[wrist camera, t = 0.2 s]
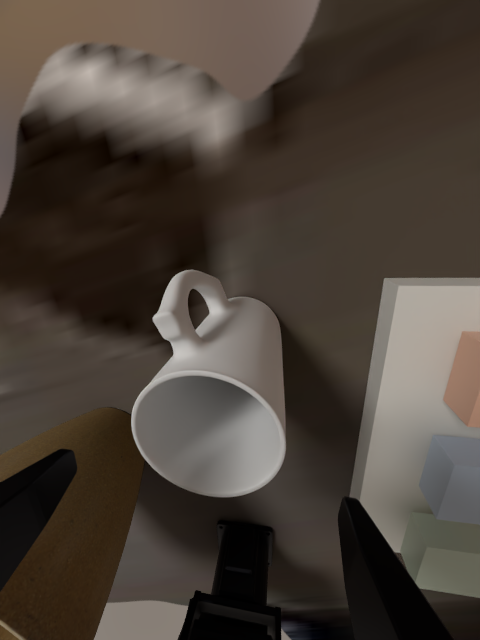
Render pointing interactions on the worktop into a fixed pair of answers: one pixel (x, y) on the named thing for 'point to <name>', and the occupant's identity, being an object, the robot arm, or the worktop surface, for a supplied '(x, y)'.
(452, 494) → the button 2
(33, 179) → the worktop surface
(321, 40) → the worktop surface
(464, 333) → the orange block with buttons
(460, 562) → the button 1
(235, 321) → the mug
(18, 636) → the plant pot
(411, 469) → the console
